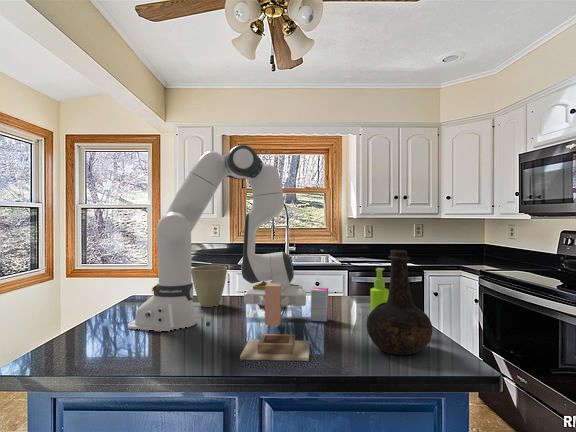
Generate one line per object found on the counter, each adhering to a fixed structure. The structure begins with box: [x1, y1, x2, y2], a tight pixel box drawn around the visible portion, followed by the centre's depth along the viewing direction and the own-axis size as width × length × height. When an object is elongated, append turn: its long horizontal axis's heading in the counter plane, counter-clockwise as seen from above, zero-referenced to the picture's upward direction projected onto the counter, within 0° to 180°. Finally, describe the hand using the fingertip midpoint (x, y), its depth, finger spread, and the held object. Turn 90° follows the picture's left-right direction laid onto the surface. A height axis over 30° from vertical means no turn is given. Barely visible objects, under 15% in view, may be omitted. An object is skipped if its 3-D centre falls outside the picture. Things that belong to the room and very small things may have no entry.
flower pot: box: [252, 282, 268, 308], centre depth 167 cm, size 9×9×9 cm
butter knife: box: [248, 309, 258, 319], centre depth 147 cm, size 1×24×3 cm
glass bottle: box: [366, 249, 433, 356], centre depth 112 cm, size 18×18×28 cm
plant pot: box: [191, 265, 228, 308], centre depth 168 cm, size 15×15×16 cm
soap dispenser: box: [369, 267, 389, 313], centre depth 133 cm, size 6×7×20 cm
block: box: [264, 282, 282, 326], centre depth 124 cm, size 4×4×12 cm
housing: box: [239, 333, 311, 362], centre depth 111 cm, size 18×14×3 cm
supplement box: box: [309, 286, 329, 324], centre depth 143 cm, size 6×6×12 cm
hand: (272, 302), depth 123 cm, fingers closed on block, 4 cm apart
